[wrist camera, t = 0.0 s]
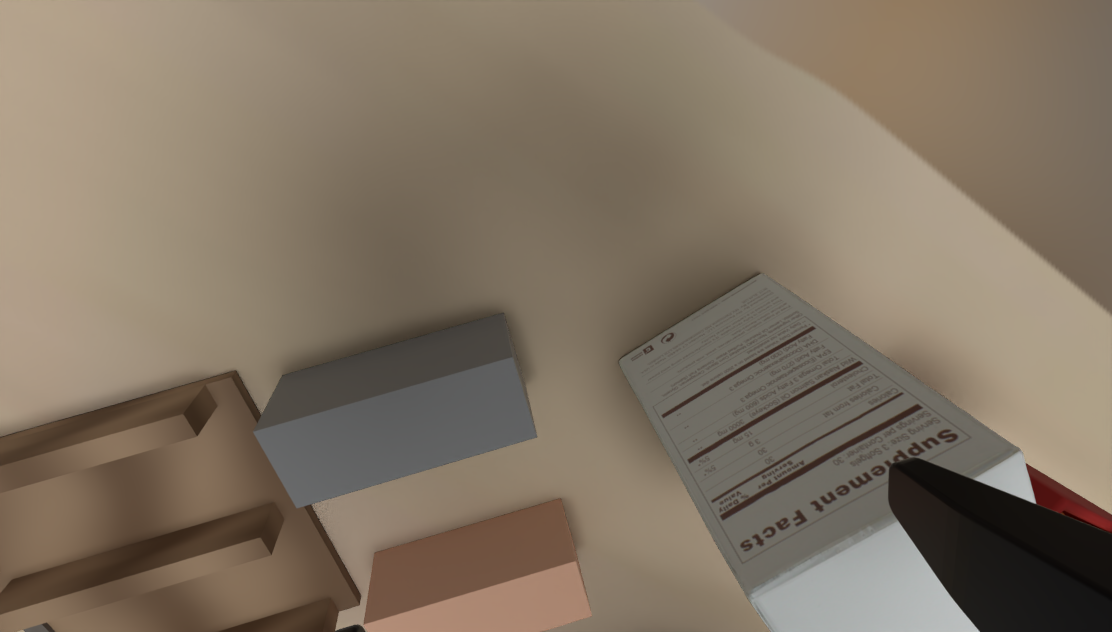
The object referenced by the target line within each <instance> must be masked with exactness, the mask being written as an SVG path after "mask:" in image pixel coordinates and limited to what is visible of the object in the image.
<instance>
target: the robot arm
mask: <svg viewBox="0 0 1112 632" xmlns="http://www.w3.org/2000/svg"><path fill="white" fill-rule="evenodd" d="M888 502H889V506H890V509H891V511H892V513H893V514H894V516H895V517H896V519H897V520H898V522H899V523H900V524H901V526H902V527H903V529H904V530H905V532H906V533H907V535H908V536H909V537H910V539H911V540H912V542H913V543H914V545H915V546H916V548H917V549H918V551H919V552H920V553H921V555H922V556H923V558H924V559H925V561H926V562H927V564H928V565H929V566H930V568H931V569H932V571H933V572H934V574H935V575H936V577H937V578H938V580H939V581H940V582H941V584H942V585H943V587H944V588H945V589H946V591H947V592H948V593H949V595H950V596H951V598H952V599H953V600H954V601H955V603H956V604H957V605H958V606H959V608H960V609H961V610H962V611H963V612H964V614H965V615H966V616H967V617H968V618H969V620H970V621H971V622H972V623H973V624H974V626H975V627H976V628H977V629H978V630H979V632H1112V534H1111V533H1109V532H1106V531H1104V530H1101V529H1099V528H1096V527H1094V526H1091V525H1089V524H1086V523H1083V522H1081V521H1078V520H1076V519H1073V518H1071V517H1068V516H1066V515H1063V514H1061V513H1058V512H1055V511H1053V510H1050V509H1048V508H1045V507H1043V506H1040V505H1038V504H1035V503H1033V502H1030V501H1027V500H1025V499H1022V498H1020V497H1017V496H1015V495H1012V494H1010V493H1007V492H1005V491H1002V490H999V489H997V488H994V487H992V486H989V485H987V484H984V483H982V482H979V481H977V480H974V479H971V478H969V477H966V476H964V475H961V474H959V473H956V472H954V471H951V470H949V469H946V468H943V467H941V466H938V465H936V464H933V463H931V462H928V461H926V460H923V459H920V458H917V457H910V458H907V459H903V460H900V461H897V462H894V463H892V464H891V465H890V467H889V477H888ZM335 632H365V630H364V629H363V627H362V626H360V625H353V626H349V627H346V628H343V629H339V630H337V631H335Z"/></svg>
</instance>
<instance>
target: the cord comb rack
mask: <svg viewBox="0 0 1112 632" xmlns="http://www.w3.org/2000/svg"><path fill="white" fill-rule="evenodd" d="M260 417H261V415H260V414H259V412H258V410H257V408H256V406H255V405H254V403H253V401H252V399H251V397H250V396H249V394H248V392H247V390H246V388H245V387H244V385H243V383H242V381H241V379H240V378H239V376H238V374H237V372H236V371H233V372H230V373H226V374H223V375H219V376H216V377H212V378H209V379H205V380H201V381H198V382H194V383H191V384H187V385H184V386H180V387H177V388H173V389H170V390H166V391H163V392H159V393H156V394H152V395H148V396H145V397H141V398H138V399H134V400H131V401H127V402H124V403H120V404H117V405H113V406H110V407H106V408H103V409H99V410H95V411H92V412H88V413H85V414H81V415H78V416H74V417H71V418H67V419H64V420H60V421H57V422H53V423H50V424H46V425H42V426H39V427H35V428H32V429H28V430H25V431H21V432H18V433H14V434H11V435H7V436H4V437H0V632H17V631H20V630H24V631H25V632H335V628H336V623H337V618H338V613H339V611H342V610H345V609H349V608H352V607H355V606H358V605H360V599H361V595H360V594H359V592H358V590H357V588H356V586H355V585H354V583H353V581H352V579H351V577H350V576H349V574H348V572H347V570H346V568H345V567H344V565H343V563H342V561H341V559H340V558H339V556H338V554H337V552H336V550H335V549H334V547H333V545H332V543H331V541H330V540H329V538H328V536H327V534H326V532H325V531H324V529H323V527H322V525H321V523H320V522H319V520H318V518H317V516H316V514H315V513H314V511H313V509H312V507H311V505H307V506H304V507H300V508H296V506H295V505H294V503H293V501H292V499H291V498H290V496H289V494H288V492H287V491H286V489H285V487H284V485H283V484H282V482H281V480H280V478H279V477H278V475H277V473H276V471H275V470H274V468H273V466H272V464H271V463H270V461H269V459H268V457H267V456H266V454H265V452H264V450H263V449H262V447H261V445H260V443H259V442H258V440H257V438H256V436H255V435H254V433H253V431H254V429H255V427H256V425H257V423H258V421H259V419H260Z"/></svg>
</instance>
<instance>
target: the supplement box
mask: <svg viewBox="0 0 1112 632" xmlns="http://www.w3.org/2000/svg"><path fill="white" fill-rule="evenodd" d="M619 365H620V368H621V369H622V371H623V373H624V375H625V377H626V379H627V380H628V382H629V384H630V386H631V388H632V389H633V391H634V393H635V395H636V396H637V398H638V400H639V402H640V403H641V405H642V407H643V409H644V411H645V413H646V414H647V416H648V418H649V420H650V422H651V424H652V426H653V428H654V429H655V431H656V433H657V435H658V437H659V439H660V440H661V442H662V444H663V446H664V448H665V450H666V451H667V453H668V455H669V457H670V459H671V461H672V463H673V465H674V466H675V468H676V470H677V472H678V474H679V476H680V478H681V480H682V481H683V483H684V485H685V487H686V489H687V491H688V493H689V495H690V496H691V498H692V500H693V502H694V504H695V506H696V508H697V510H698V511H699V513H700V515H701V517H702V519H703V521H704V523H705V524H706V526H707V528H708V530H709V532H710V534H711V536H712V538H713V539H714V541H715V543H716V545H717V546H718V548H719V550H720V552H721V553H722V555H723V557H724V559H725V560H726V562H727V564H728V566H729V567H730V569H731V571H732V573H733V574H734V576H735V578H736V579H737V581H738V583H739V585H740V586H741V588H742V590H743V591H744V593H745V595H746V597H747V598H748V600H749V601H750V603H751V604H752V606H753V607H754V609H755V610H756V611H757V613H758V614H759V616H760V617H761V619H762V620H763V621H764V623H765V624H766V626H767V627H768V629H769V630H770V632H979V630H978V629H977V628H976V627H975V626H974V624H973V623H972V622H971V621H970V620H969V618H968V617H967V616H966V615H965V614H964V612H963V611H962V610H961V609H960V608H959V606H958V605H957V604H956V603H955V601H954V600H953V599H952V598H951V596H950V595H949V593H948V592H947V591H946V589H945V588H944V587H943V585H942V584H941V582H940V581H939V580H938V578H937V577H936V575H935V574H934V572H933V571H932V569H931V568H930V566H929V565H928V564H927V562H926V561H925V559H924V558H923V556H922V555H921V553H920V552H919V551H918V549H917V548H916V546H915V545H914V543H913V542H912V540H911V539H910V537H909V536H908V535H907V533H906V532H905V530H904V529H903V527H902V526H901V524H900V523H899V522H898V520H897V519H896V517H895V516H894V514H893V513H892V511H891V509H890V506H889V502H888V477H889V467H890V465H891V464H892V463H894V462H897V461H900V460H903V459H907V458H910V457H917V458H920V459H923V460H926V461H928V462H931V463H933V464H936V465H938V466H941V467H943V468H946V469H949V470H951V471H954V472H956V473H959V474H961V475H964V476H966V477H969V478H971V479H974V480H977V481H979V482H982V483H984V484H987V485H989V486H992V487H994V488H997V489H999V490H1002V491H1005V492H1007V493H1010V494H1012V495H1015V496H1017V497H1020V498H1022V499H1025V500H1027V501H1030V502H1033V503H1035V504H1036V500H1035V497H1034V493H1033V489H1032V485H1031V481H1030V478H1029V474H1028V471H1027V468H1026V464H1025V459H1024V455H1023V452H1022V451H1021V450H1020V448H1018V447H1016V446H1015V445H1013V444H1011V443H1010V442H1009V441H1007V440H1006V439H1004V438H1003V437H1001V436H1000V435H998V434H997V433H995V432H994V431H992V430H991V429H989V428H988V427H987V426H985V425H984V424H982V423H981V422H979V421H978V420H977V419H975V418H974V417H972V416H971V415H970V414H968V413H967V412H965V411H964V410H962V409H960V408H959V407H957V406H956V405H955V404H953V403H952V402H951V401H949V400H948V399H946V398H945V397H943V396H942V395H940V394H939V393H937V392H936V391H934V390H933V389H931V388H930V387H928V386H927V385H925V384H924V383H923V382H921V381H920V380H918V379H917V378H916V377H914V376H913V375H911V374H910V373H908V372H907V371H906V370H904V369H903V368H901V367H900V366H898V365H897V364H896V363H894V362H893V361H891V360H890V359H888V358H887V357H886V356H884V355H883V354H881V353H880V352H878V351H877V350H876V349H874V348H873V347H871V346H870V345H868V344H867V343H865V342H864V341H862V340H861V339H860V338H858V337H857V336H855V335H854V334H852V333H851V332H849V331H848V330H846V329H845V328H844V327H842V326H841V325H839V324H837V323H836V322H835V321H833V320H832V319H830V318H829V317H827V316H826V315H824V314H823V313H822V312H820V311H819V310H817V309H816V308H814V307H813V306H811V305H810V304H809V303H807V302H806V301H804V300H803V299H801V298H800V297H798V296H797V295H795V294H794V293H792V292H791V291H789V290H788V289H786V288H785V287H783V286H782V285H780V284H779V283H777V282H776V281H774V280H773V279H772V278H770V277H768V276H767V275H765V274H764V273H761V274H759V275H758V276H756V277H754V278H752V279H750V280H748V281H747V282H745V283H743V284H741V285H740V286H738V287H736V288H735V289H733V290H731V291H730V292H728V293H727V294H725V295H724V296H722V297H720V298H718V299H717V300H715V301H713V302H712V303H710V304H709V305H707V306H705V307H704V308H702V309H701V310H699V311H697V312H695V313H694V314H692V315H690V316H689V317H687V318H686V319H684V320H682V321H681V322H679V323H677V324H676V325H674V326H673V327H671V328H669V329H667V330H666V331H664V332H663V333H661V334H659V335H658V336H656V337H655V338H653V339H651V340H650V341H648V342H646V343H645V344H643V345H642V346H640V347H639V348H637V349H635V350H634V351H632V352H630V353H629V354H627V355H626V356H624V357H623V358H621V359H620V360H619Z"/></svg>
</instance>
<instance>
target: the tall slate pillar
mask: <svg viewBox="0 0 1112 632" xmlns="http://www.w3.org/2000/svg"><path fill="white" fill-rule="evenodd" d="M253 433H254V435H255V436H256V438H257V440H258V442H259V443H260V445H261V447H262V449H263V450H264V452H265V454H266V456H267V457H268V459H269V461H270V463H271V464H272V466H273V468H274V470H275V471H276V473H277V475H278V477H279V478H280V480H281V482H282V484H283V485H284V487H285V489H286V491H287V492H288V494H289V496H290V498H291V499H292V501H293V503H294V505H295V506H296V508H300V507H304V506H307V505H310V504H314V503H317V502H320V501H324V500H327V499H331V498H334V497H337V496H341V495H344V494H347V493H351V492H354V491H358V490H361V489H364V488H368V487H371V486H374V485H378V484H381V483H384V482H388V481H391V480H395V479H398V478H401V477H405V476H408V475H411V474H415V473H418V472H422V471H425V470H428V469H432V468H435V467H438V466H442V465H445V464H449V463H452V462H455V461H459V460H462V459H465V458H469V457H472V456H476V455H479V454H482V453H486V452H489V451H492V450H496V449H499V448H503V447H506V446H509V445H513V444H516V443H519V442H523V441H526V440H530V439H533V438H536V437H537V434H536V429H535V425H534V420H533V416H532V412H531V407H530V403H529V398H528V394H527V390H526V385H525V382H524V378H523V375H522V372H521V369H520V365H519V362H518V359H517V355H516V352H515V349H514V345H513V342H512V339H511V336H510V332H509V329H508V326H507V322H506V319H505V316H504V313H501V314H497V315H494V316H490V317H487V318H483V319H479V320H476V321H472V322H469V323H465V324H462V325H458V326H455V327H451V328H448V329H444V330H441V331H437V332H434V333H430V334H427V335H423V336H420V337H416V338H412V339H409V340H405V341H402V342H398V343H395V344H391V345H388V346H384V347H381V348H377V349H374V350H370V351H367V352H363V353H360V354H356V355H352V356H349V357H345V358H342V359H338V360H335V361H331V362H328V363H324V364H321V365H317V366H314V367H310V368H307V369H303V370H300V371H296V372H292V373H289V374H285V375H282V377H281V379H280V381H279V383H278V385H277V387H276V389H275V391H274V392H273V394H272V396H271V398H270V400H269V402H268V404H267V406H266V408H265V410H264V412H263V413H262V415H261V417H260V419H259V421H258V423H257V425H256V427H255V429H254V431H253Z"/></svg>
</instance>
